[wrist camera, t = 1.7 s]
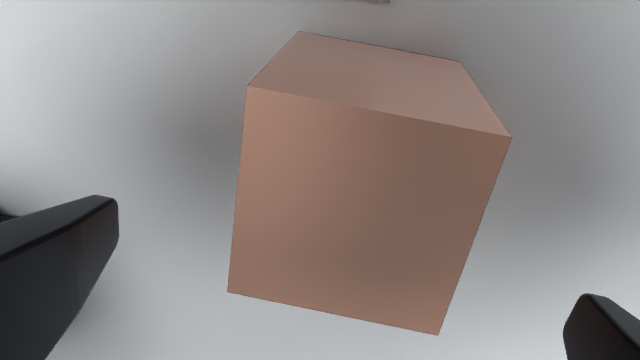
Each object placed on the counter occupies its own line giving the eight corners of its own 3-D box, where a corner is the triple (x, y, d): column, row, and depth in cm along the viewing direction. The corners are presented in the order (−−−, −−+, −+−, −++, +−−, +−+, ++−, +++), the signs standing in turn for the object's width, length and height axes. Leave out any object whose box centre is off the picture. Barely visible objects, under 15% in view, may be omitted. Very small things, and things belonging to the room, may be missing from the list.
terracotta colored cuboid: (418, 203, 17) (438, 335, 12) (278, 175, 18) (227, 292, 12) (460, 61, 15) (511, 137, 9) (298, 30, 15) (246, 85, 9)
